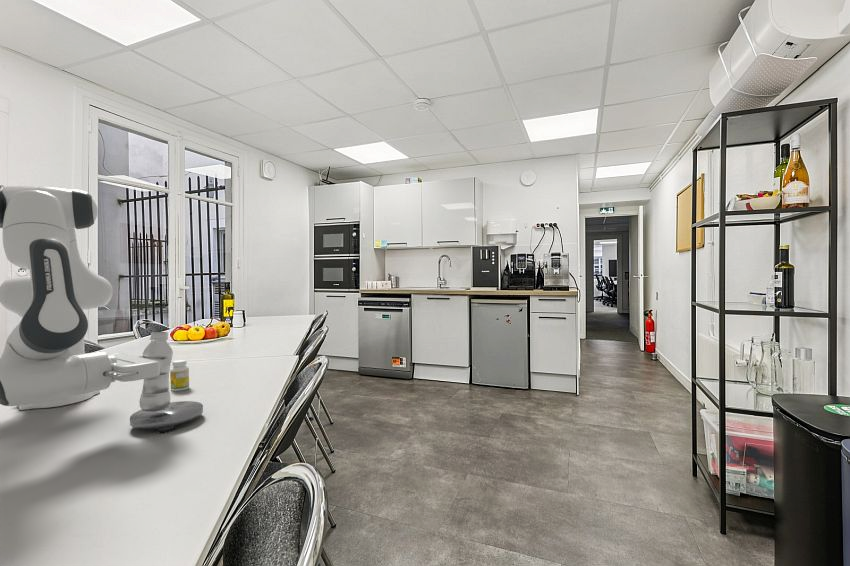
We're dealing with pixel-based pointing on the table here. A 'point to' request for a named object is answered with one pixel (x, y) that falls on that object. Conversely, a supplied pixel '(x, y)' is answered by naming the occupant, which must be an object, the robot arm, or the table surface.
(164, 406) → the plastic bottle
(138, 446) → the table surface
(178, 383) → the supplement bottle
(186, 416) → the base
